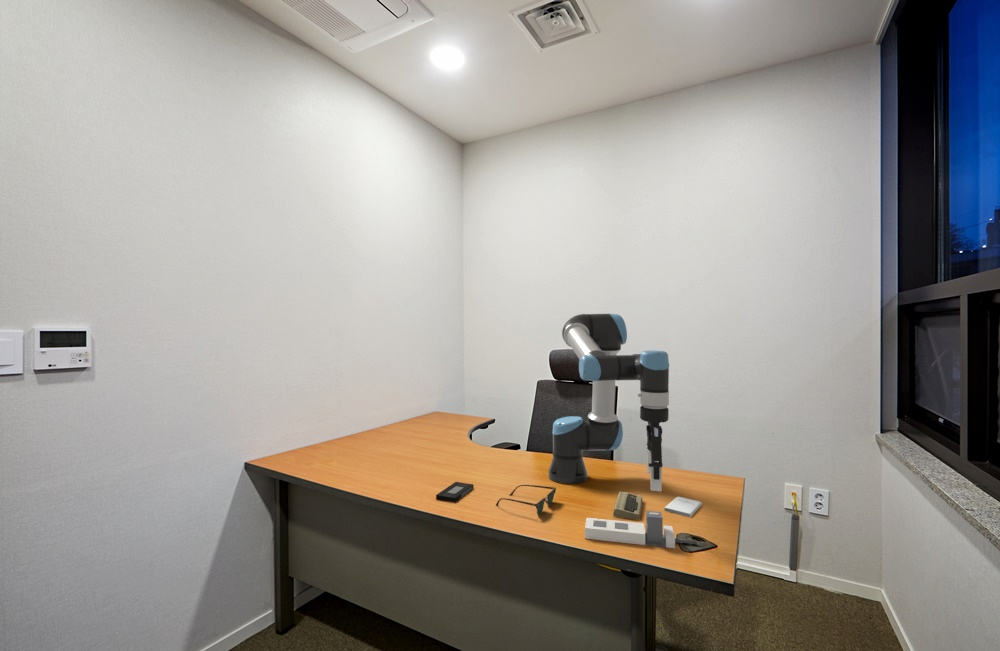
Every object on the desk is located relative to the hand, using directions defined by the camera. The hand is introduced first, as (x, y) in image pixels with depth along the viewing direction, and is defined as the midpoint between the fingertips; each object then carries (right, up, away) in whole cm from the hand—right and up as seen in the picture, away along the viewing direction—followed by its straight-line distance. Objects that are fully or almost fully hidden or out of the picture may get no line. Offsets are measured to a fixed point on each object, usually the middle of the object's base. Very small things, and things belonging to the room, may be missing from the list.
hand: (654, 481), depth 128 cm
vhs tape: (-59, -17, +36) cm, 71 cm away
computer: (-1, -17, +22) cm, 28 cm away
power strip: (-4, -16, +1) cm, 17 cm away
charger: (0, -16, 0) cm, 16 cm away
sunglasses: (-35, -17, +26) cm, 46 cm away
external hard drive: (+17, -17, +22) cm, 33 cm away
